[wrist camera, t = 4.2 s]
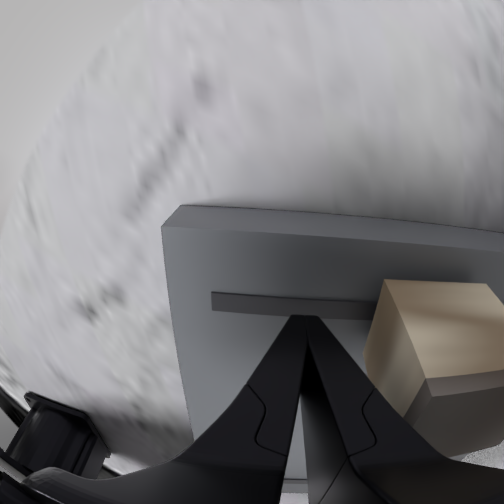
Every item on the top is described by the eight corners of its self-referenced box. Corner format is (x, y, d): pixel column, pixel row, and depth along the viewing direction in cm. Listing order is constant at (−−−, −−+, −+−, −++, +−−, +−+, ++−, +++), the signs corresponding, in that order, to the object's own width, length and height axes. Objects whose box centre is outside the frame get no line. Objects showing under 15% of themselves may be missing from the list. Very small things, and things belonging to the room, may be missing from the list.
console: (210, 462, 20) (205, 486, 18) (180, 205, 11) (160, 227, 9) (437, 458, 18) (442, 479, 17) (564, 242, 10) (588, 262, 8)
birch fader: (360, 354, 10) (382, 467, 6) (382, 277, 9) (432, 396, 5) (457, 351, 10) (498, 444, 6) (487, 282, 9) (555, 373, 5)
